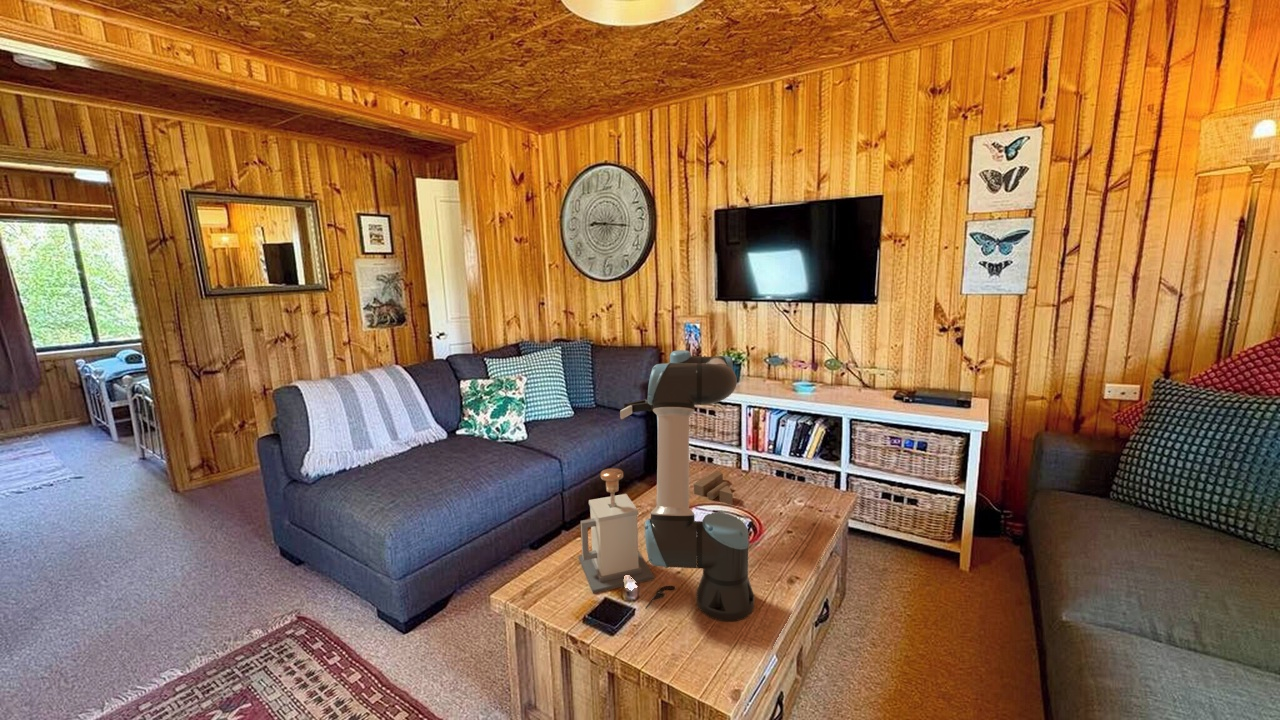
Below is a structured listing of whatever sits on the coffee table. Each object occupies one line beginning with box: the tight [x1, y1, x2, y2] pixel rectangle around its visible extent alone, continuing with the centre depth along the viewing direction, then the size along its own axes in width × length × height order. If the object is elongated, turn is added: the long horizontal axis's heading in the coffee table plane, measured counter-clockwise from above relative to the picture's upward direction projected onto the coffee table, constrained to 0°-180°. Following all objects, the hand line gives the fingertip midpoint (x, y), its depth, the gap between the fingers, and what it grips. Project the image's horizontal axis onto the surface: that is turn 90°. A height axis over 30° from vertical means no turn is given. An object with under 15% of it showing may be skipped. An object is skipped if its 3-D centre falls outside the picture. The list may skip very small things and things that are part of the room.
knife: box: [645, 585, 676, 610], centre depth 137 cm, size 14×4×1 cm, turn 151°
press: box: [580, 493, 642, 582], centre depth 149 cm, size 12×16×19 cm
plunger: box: [600, 467, 624, 508], centre depth 148 cm, size 6×6×23 cm
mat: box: [578, 550, 655, 594], centre depth 151 cm, size 18×18×1 cm
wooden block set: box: [693, 469, 734, 506], centre depth 200 cm, size 17×6×18 cm
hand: (640, 417), depth 157 cm, fingers open, 13 cm apart
